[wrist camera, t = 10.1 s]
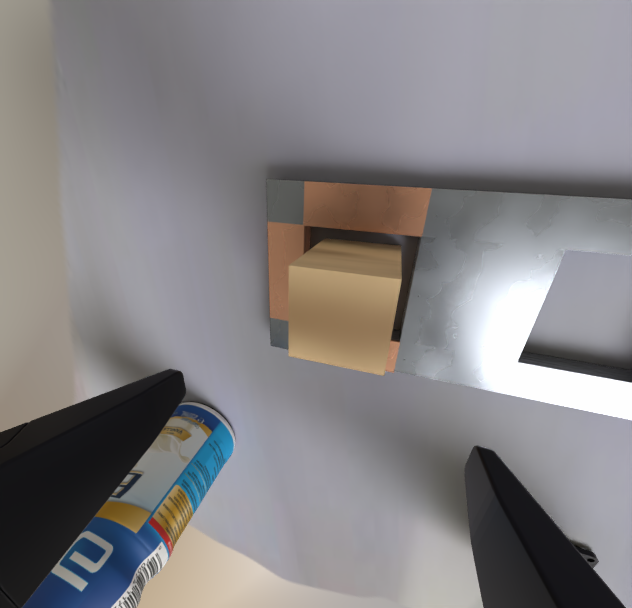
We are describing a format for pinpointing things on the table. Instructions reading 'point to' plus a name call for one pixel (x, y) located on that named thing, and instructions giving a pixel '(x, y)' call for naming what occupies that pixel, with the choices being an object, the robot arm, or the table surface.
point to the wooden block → (344, 303)
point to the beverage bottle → (141, 516)
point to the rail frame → (465, 279)
